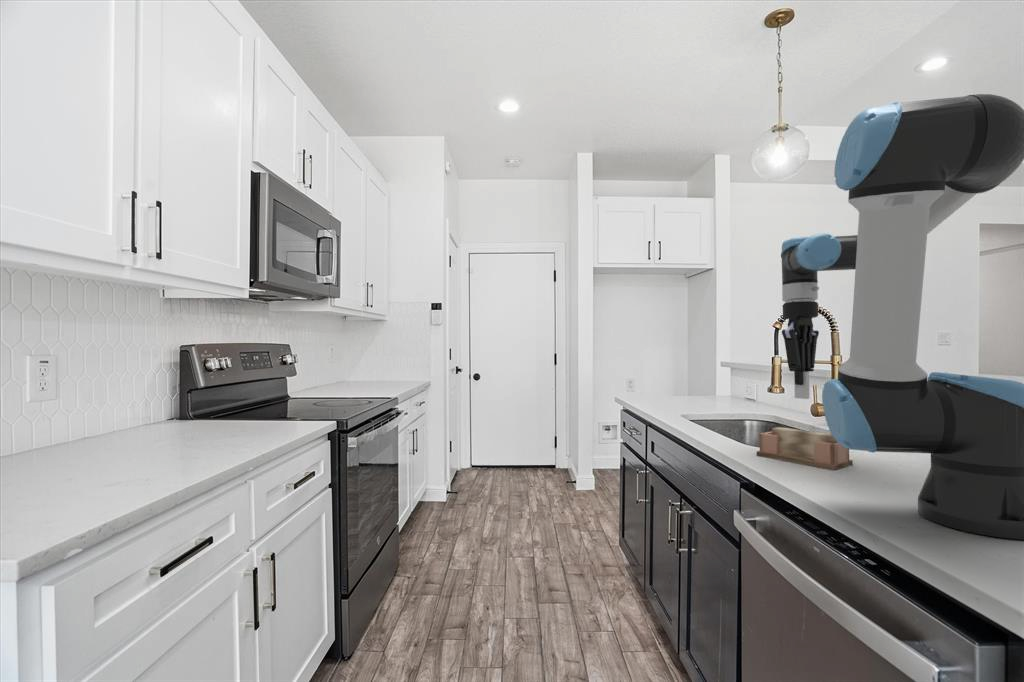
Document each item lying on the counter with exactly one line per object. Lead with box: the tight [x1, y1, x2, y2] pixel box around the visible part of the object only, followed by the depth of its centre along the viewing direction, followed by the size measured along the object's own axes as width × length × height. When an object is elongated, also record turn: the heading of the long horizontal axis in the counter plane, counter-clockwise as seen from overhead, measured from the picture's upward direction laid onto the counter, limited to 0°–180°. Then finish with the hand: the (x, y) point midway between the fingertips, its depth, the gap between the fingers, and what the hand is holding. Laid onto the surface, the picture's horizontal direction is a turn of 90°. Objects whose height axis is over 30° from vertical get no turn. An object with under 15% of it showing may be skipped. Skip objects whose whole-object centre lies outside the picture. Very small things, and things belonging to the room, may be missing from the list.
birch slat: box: [771, 426, 838, 459], centre depth 118 cm, size 14×3×6 cm, turn 33°
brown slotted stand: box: [758, 430, 850, 465], centre depth 119 cm, size 7×18×4 cm, turn 32°
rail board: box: [755, 450, 854, 471], centre depth 119 cm, size 9×18×1 cm, turn 32°
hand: (802, 398), depth 118 cm, fingers closed
